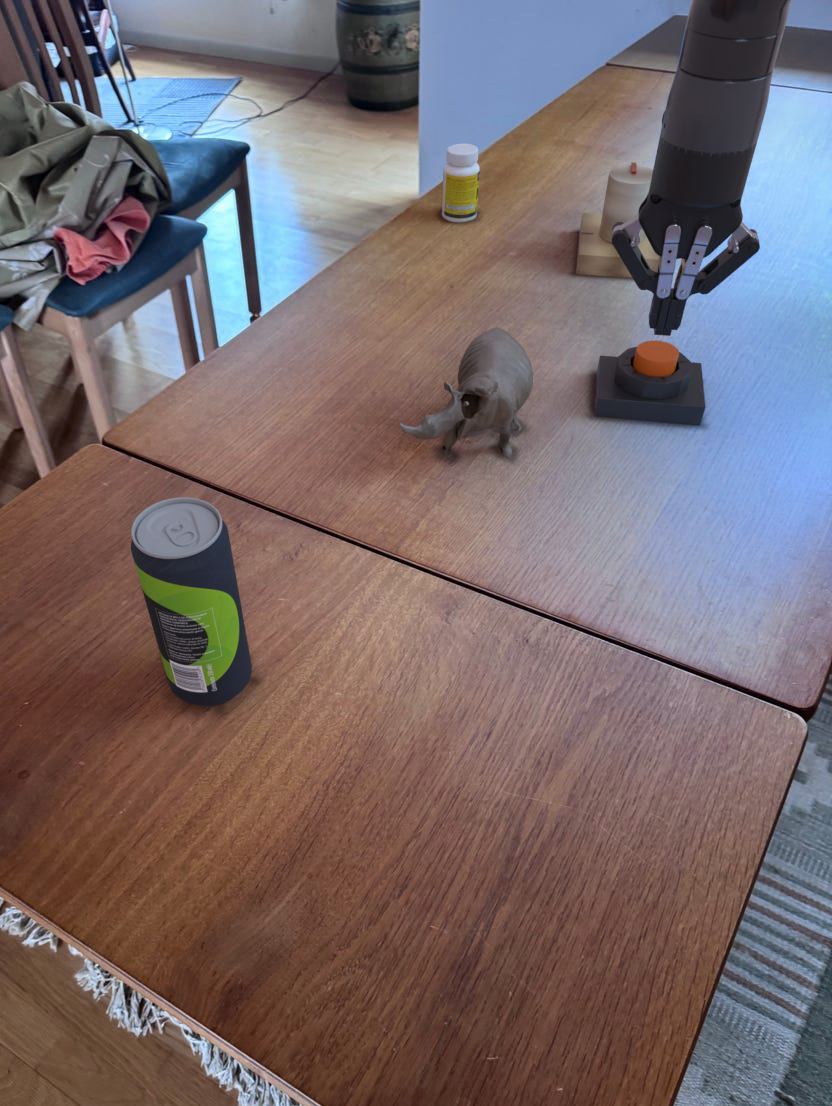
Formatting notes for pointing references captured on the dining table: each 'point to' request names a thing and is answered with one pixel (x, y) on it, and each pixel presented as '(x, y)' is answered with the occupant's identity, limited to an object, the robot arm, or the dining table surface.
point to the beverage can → (192, 599)
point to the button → (655, 358)
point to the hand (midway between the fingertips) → (662, 331)
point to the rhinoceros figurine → (483, 393)
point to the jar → (624, 197)
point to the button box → (649, 391)
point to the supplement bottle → (460, 183)
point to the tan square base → (605, 251)
